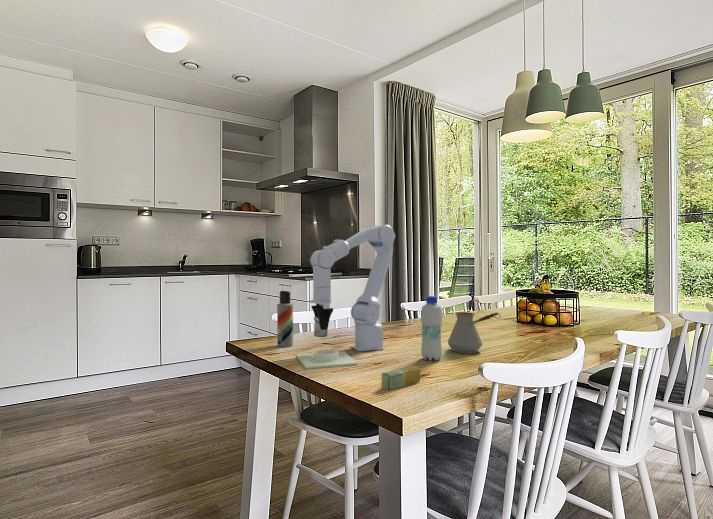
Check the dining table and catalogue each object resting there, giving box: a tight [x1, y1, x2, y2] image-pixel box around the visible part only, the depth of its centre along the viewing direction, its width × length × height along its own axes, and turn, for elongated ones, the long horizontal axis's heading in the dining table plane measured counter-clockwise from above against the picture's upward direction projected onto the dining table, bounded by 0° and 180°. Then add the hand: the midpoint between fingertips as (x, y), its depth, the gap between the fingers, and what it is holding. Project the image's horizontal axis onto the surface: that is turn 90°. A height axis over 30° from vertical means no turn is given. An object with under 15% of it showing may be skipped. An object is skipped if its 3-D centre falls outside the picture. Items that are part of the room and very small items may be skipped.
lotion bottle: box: [276, 290, 294, 348], centre depth 159 cm, size 6×6×20 cm
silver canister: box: [313, 315, 331, 338], centre depth 144 cm, size 5×5×6 cm
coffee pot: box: [447, 311, 501, 354], centre depth 145 cm, size 21×12×15 cm, turn 27°
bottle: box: [420, 295, 443, 362], centre depth 138 cm, size 7×7×20 cm
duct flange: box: [295, 348, 359, 370], centre depth 137 cm, size 16×16×3 cm
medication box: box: [380, 365, 421, 391], centre depth 112 cm, size 12×3×4 cm, turn 131°
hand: (322, 328), depth 143 cm, fingers closed on silver canister, 5 cm apart
